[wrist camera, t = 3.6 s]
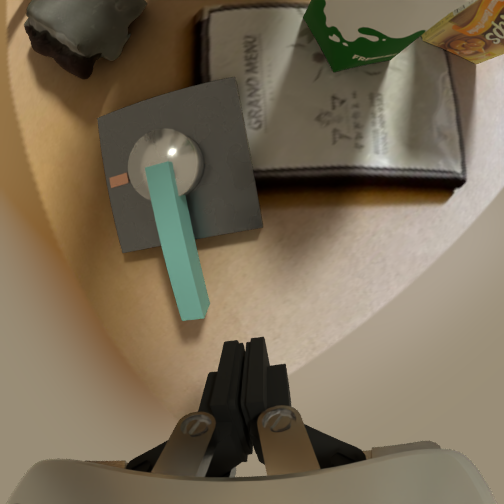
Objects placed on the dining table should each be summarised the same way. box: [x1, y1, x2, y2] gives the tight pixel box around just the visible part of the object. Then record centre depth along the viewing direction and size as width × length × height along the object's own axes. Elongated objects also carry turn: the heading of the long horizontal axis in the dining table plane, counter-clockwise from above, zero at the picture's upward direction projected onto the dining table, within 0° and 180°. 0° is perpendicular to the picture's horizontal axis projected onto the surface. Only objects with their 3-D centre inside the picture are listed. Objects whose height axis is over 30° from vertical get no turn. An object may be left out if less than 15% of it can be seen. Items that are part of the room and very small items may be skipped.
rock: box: [24, 0, 147, 79], centre depth 18 cm, size 18×11×8 cm, turn 50°
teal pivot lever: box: [128, 128, 210, 321], centre depth 24 cm, size 6×16×4 cm, turn 10°
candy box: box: [422, 0, 504, 64], centre depth 13 cm, size 9×4×15 cm, turn 88°
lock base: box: [97, 77, 263, 253], centre depth 25 cm, size 14×14×2 cm
